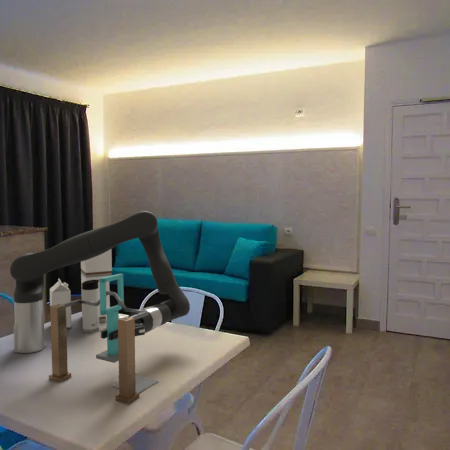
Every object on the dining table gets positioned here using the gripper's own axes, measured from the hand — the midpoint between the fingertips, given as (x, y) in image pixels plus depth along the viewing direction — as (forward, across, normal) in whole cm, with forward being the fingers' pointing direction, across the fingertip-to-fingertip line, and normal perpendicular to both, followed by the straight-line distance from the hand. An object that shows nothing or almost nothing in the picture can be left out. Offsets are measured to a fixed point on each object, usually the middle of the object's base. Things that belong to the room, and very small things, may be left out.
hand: (105, 336), depth 128 cm
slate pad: (-3, +9, +13) cm, 16 cm away
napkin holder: (-39, -31, +14) cm, 52 cm away
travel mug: (-32, -39, +14) cm, 52 cm away
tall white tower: (-45, -49, +14) cm, 68 cm away
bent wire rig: (+2, 0, +13) cm, 14 cm away
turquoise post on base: (-3, 0, +7) cm, 8 cm away
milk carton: (-29, -53, +14) cm, 62 cm away
